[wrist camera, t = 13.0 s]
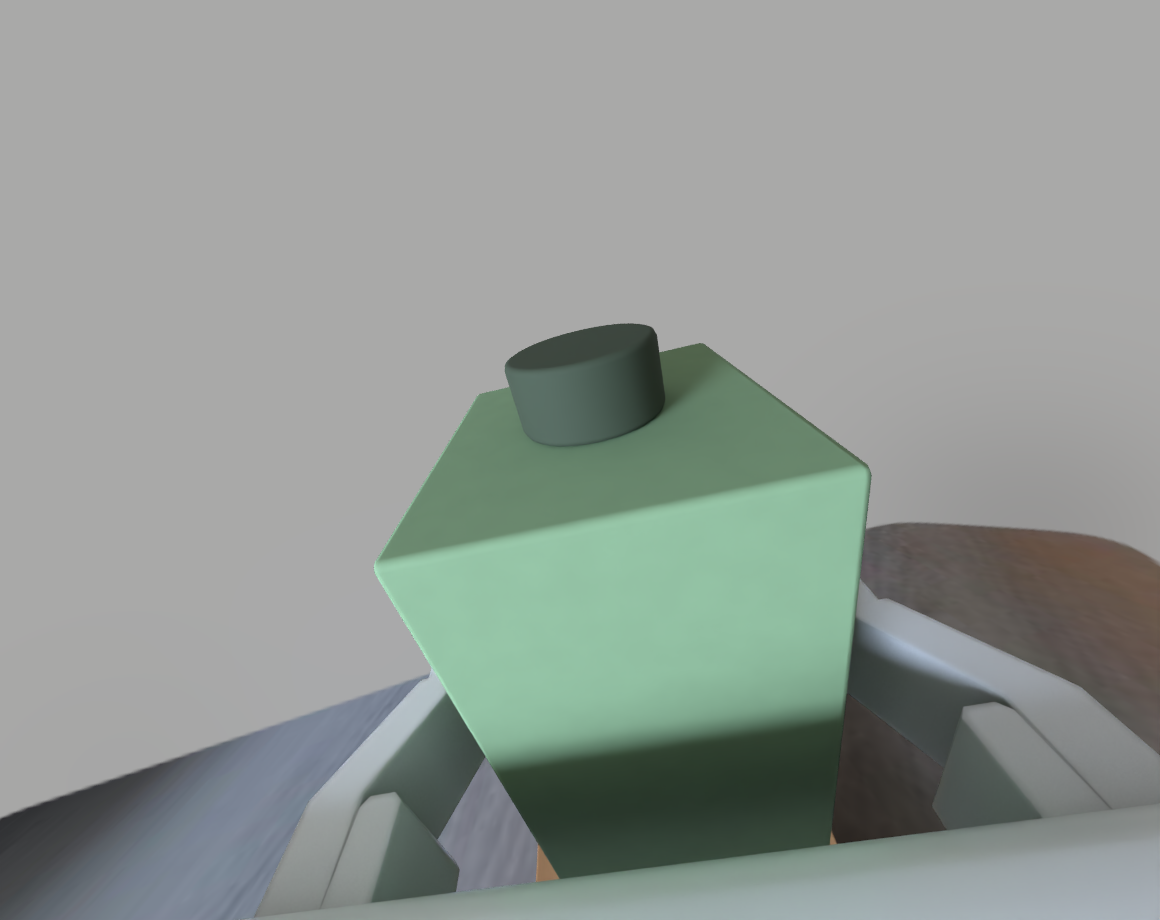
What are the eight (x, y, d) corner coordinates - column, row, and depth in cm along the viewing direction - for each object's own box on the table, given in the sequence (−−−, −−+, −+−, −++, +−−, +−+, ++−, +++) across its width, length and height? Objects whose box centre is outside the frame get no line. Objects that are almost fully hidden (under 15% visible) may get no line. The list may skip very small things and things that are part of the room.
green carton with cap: (732, 674, 12) (698, 284, 7) (824, 915, 8) (893, 344, 3) (585, 698, 13) (458, 343, 8) (593, 939, 8) (308, 475, 3)
